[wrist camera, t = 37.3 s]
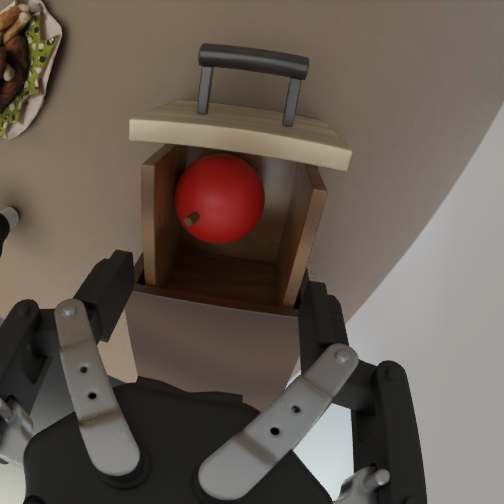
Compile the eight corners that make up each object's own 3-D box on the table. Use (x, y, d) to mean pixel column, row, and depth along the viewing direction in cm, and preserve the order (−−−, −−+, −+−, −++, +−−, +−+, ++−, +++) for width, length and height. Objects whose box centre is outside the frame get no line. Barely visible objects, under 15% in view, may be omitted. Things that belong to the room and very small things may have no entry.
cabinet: (165, 214, 28) (121, 288, 19) (302, 235, 28) (314, 319, 20) (167, 324, 36) (143, 399, 27) (272, 341, 36) (270, 419, 28)
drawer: (182, 46, 19) (135, 38, 12) (335, 68, 20) (372, 70, 12) (168, 247, 29) (137, 312, 22) (289, 266, 29) (294, 337, 22)
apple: (274, 144, 21) (227, 170, 16) (280, 224, 24) (241, 274, 19) (198, 147, 24) (138, 173, 18) (209, 219, 27) (159, 261, 21)
